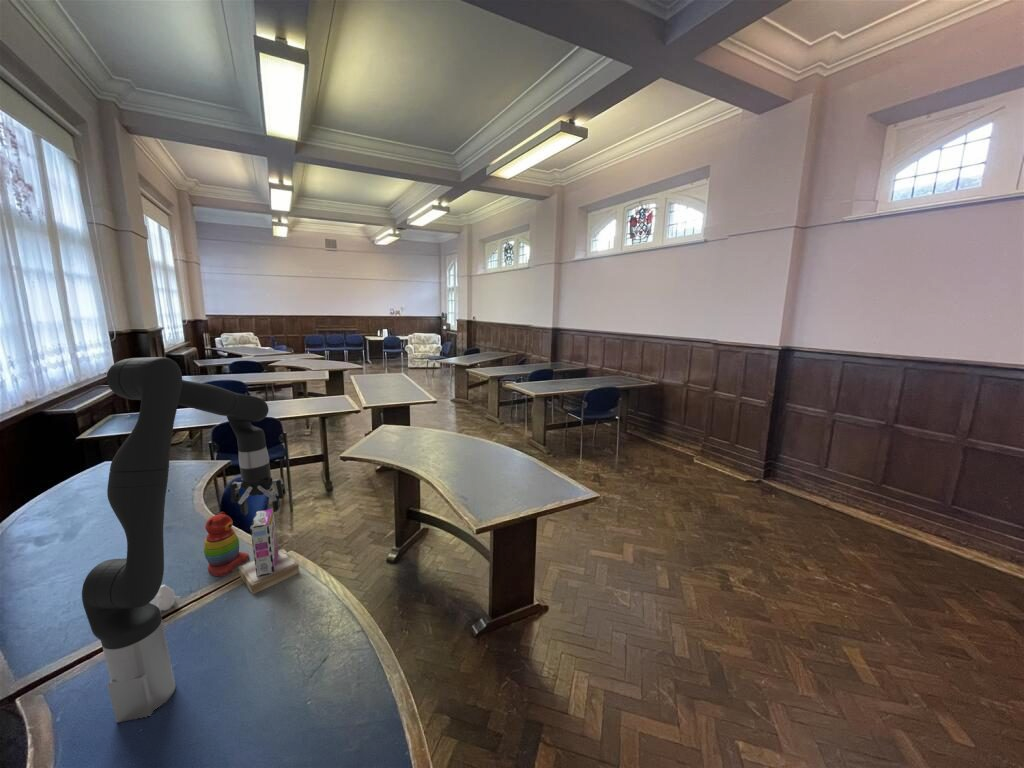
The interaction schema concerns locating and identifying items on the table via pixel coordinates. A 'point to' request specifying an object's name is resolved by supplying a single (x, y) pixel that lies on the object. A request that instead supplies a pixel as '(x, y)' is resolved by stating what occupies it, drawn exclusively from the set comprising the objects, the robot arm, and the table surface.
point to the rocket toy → (165, 598)
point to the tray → (282, 571)
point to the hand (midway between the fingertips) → (261, 512)
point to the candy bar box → (264, 542)
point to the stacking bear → (222, 546)
